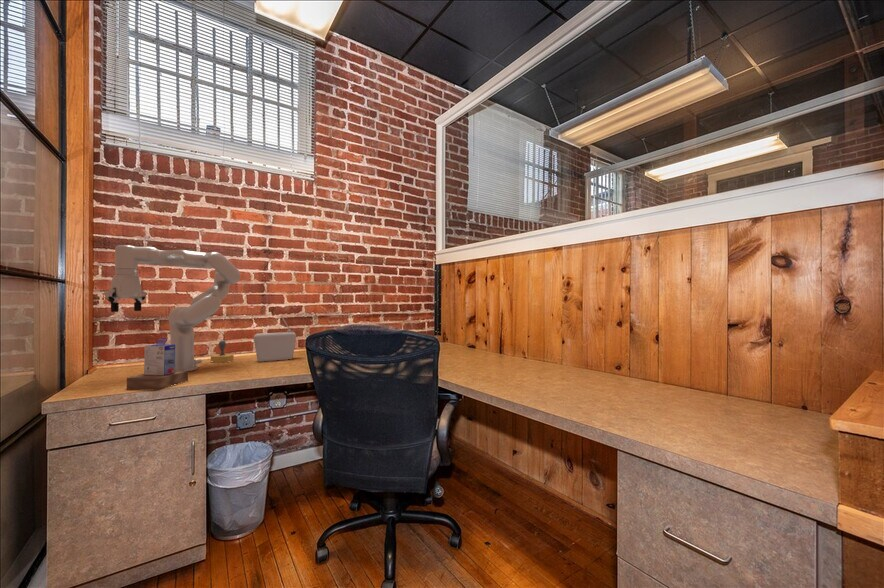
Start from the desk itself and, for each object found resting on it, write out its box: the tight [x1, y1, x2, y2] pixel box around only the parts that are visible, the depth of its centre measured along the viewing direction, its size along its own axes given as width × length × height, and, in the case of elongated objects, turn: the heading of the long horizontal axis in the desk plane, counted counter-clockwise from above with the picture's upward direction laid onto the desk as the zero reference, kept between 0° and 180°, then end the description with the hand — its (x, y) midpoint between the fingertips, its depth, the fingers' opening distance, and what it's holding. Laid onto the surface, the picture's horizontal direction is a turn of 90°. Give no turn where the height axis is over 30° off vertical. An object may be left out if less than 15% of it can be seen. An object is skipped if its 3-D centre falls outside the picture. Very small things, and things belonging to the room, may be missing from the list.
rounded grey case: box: [253, 316, 297, 363], centre depth 203 cm, size 22×8×25 cm, turn 116°
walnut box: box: [126, 371, 189, 391], centre depth 146 cm, size 14×14×5 cm
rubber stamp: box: [210, 339, 235, 363], centre depth 199 cm, size 10×6×12 cm, turn 86°
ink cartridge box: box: [143, 338, 175, 375], centre depth 147 cm, size 10×6×14 cm, turn 82°
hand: (126, 311), depth 157 cm, fingers open, 9 cm apart
